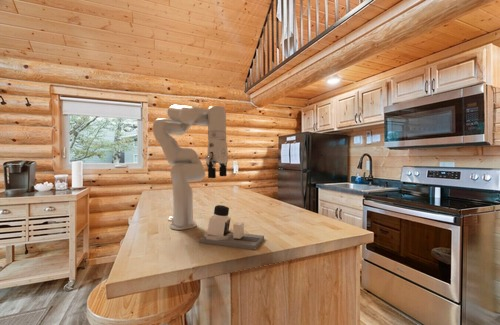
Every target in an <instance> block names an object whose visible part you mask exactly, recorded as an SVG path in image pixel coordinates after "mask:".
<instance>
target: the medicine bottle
mask: <svg viewBox="0 0 500 325" xmlns="http://www.w3.org/2000/svg"><path fill="white" fill-rule="evenodd" d="M229 211H230V208H229V207H228V206H227V205H222V204H219V205H218V204H217V205H215V206H214V210H213V216H211V217H209V219H208V220H209V221H208V227H207V231H208V232H207V231H206V232H207V234H208V235H211V236H216V237H220V236H226V235H227V234H228V232H229V230H230V226H231V217H230V216H229V213H230V212H229Z"/></svg>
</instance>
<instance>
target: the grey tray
mask: <svg viewBox="0 0 500 325" xmlns="http://www.w3.org/2000/svg"><path fill="white" fill-rule="evenodd" d="M207 232H208V230H206V231H205V232H204V233H203V236H202V237H200V238H199V239H198V243H201V244H209V245H215V246H225V247H231V248H238V249H239V248H240V249H247V250H253V251H255V250H256V249H257V248H258V247H259V246H260V245H261V243H262V242H264V240H265V235H261V234H252V233H244V236H243V237H242V238H240V239H238V238H233V230H230V229H229V232H228V234H227V235H226V236H220V237H216V236H211V235H208V234H207Z"/></svg>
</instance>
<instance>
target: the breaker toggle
mask: <svg viewBox="0 0 500 325" xmlns="http://www.w3.org/2000/svg"><path fill="white" fill-rule="evenodd" d="M232 232H233V238H238V239H240V238H242V237H243V236H244V234H245V223H244V222H243V221H236V222H235V223H233V224H232Z"/></svg>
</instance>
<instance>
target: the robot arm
mask: <svg viewBox="0 0 500 325" xmlns="http://www.w3.org/2000/svg"><path fill="white" fill-rule="evenodd" d="M166 113H167V116H168V117H169V118H168V117H165V118H164V117H161V118H157V119H155V120H154V121H153V124H152V132H153V136H154V138H155V140H156V142H157V143H158V144H159V146H160V147H161V150H162V152H163V154H164V156H165V158H166V160H167V163H168V164H169V165H170V166H171V168H170V177H171V178H170V179H171V184H172V203H173V204H172V205H173V207H172V209H173V210H172V211H173V214H172V215H173V216H169V217H168V219H167V221H168V222H171V224H170V229H171V230H174V231H175V230H176V231H177V230H178V231H179V230H180V231H181V230H183V231H185V230H189V229H192V228H193V229H194V228H195V227H196V226H197V222H196V221H194V206H193V205H194V204H193V203H194V199H193V197H194V194H193V188H192V186H191V185H190V184H189V183H193V182H200V181H203V179H205V176H206V171H205V167H204V165H203V162H202V161H201V159H200V157H199V155H198V153H197V151H195V149H193V148H188V147H181V146H180V145H179V143H178V141H177V139H176V138H174V137H173V136H171V135H174V136H175V135H176V136H182V135H185V134H186V133H187V132H188V130H190V128H191V127H192V125H193V126H201V127H207V140H208V141H207V155H206V157H205V158H204V159H205V161H206V166H207V177H208V179H216V177H217V175H216V174H217V173H216V172H217V169H216V165H217V164H219V174H218V175H219V177H226V176H227V174H228V173H227V172H228V171H227V167H228V162H229V161H228V160H229V159H228V158H229V153H228V144H227V143H228V142H227V110H226V108H225V107H224V106H222V105H210V106H209V107H208V108H203V107H199V106H198V107H197V106H191V105H185V104H184V105H181V104H173V105H171V106H169V107H168V108H167V110H166Z"/></svg>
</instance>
